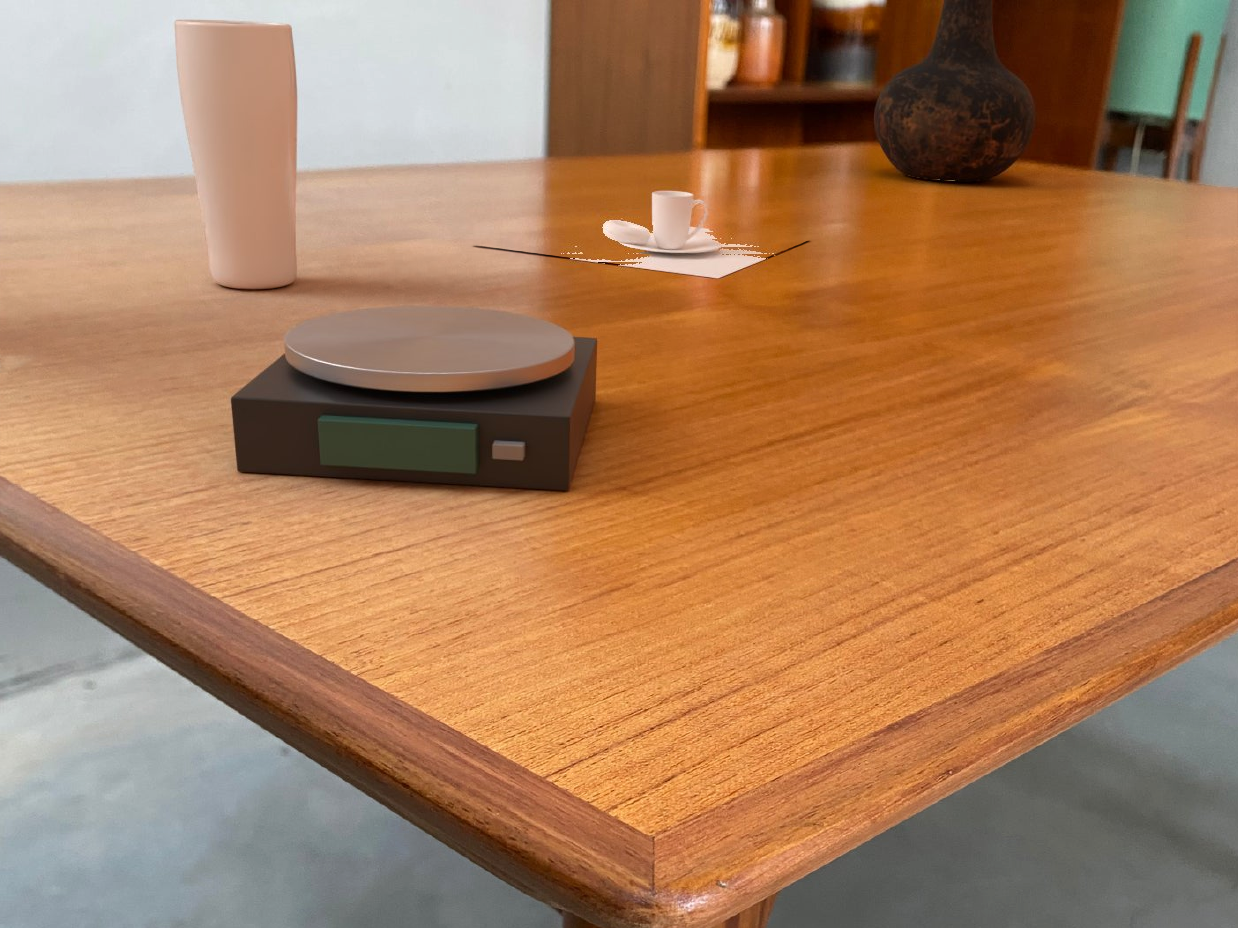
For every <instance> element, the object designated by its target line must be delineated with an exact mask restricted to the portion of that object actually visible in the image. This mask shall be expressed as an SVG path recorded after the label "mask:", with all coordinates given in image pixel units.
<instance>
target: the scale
mask: <svg viewBox="0 0 1238 928" xmlns="http://www.w3.org/2000/svg"><path fill="white" fill-rule="evenodd" d="M573 339H574V341H575V349H574V361H573V363H572V364H571V366H570V367H569V368H568V369H566V370H565V371H564V372H562V373H560V374H558V375H556V376H553V377H551V378H548V379H545V380H542V381H538V382H535V383H531V384H526V385H521V386H516V387H510V388H504V389H496V390H487V391H475V392H457V393H412V392H394V391H381V390H373V389H364V388H358V387H352V386H346V385H341V384H336V383H332V382H328V381H324V380H321V379H317V378H314V377H312V376H309V375H306V374H304V373H302V372H300V371H298V370H296V369H295V368H293V367H292V366H291V365H290V364H289V363H288V361H287V360H286V357H285V352H284V353H283V354H282V355H281V356H279V357H278V358H277V359H276V360H275V361H274V362H272V363H271V364H270V365H268V366H267V367H266V368H265V369H263V370H262V371H261V372H260V373H259V374H257V375H256V376H255V377H254V378H253V379H252V380H250V381H249V382H248V383H246V384H245V385H244V386H243V387H241V388H240V389H239V390H238V391H237V392H236V393H234V394H233V395H232V396H231V397H230V405H231V417H232V429H233V439H234V440H233V441H234V449H235V459H236V460H235V461H236V470H237V472H239V473H252V474H253V473H254V474H255V473H256V474H271V475H272V474H273V475H286V476H287V475H288V476H289V475H290V476H305V477H306V476H308V477H323V478H324V477H325V478H343V479H359V480H375V481H389V482H391V481H392V482H408V483H409V482H410V483H425V484H441V485H442V484H444V485H461V486H475V487H492V488H493V487H494V488H495V487H496V488H511V489H529V490H542V491H543V490H545V491H561V492H568V491H569V489H570V487H571V484H572V479H573V477H574V473H575V470H576V466H577V463H578V460H579V456H580V453H581V449H582V446H583V442H584V440H585V436H586V432H587V429H588V426H589V424H590V419H591V415H592V412H593V409H594V406H595V402H596V399H597V398H596V396H597V367H598V366H597V365H598V338H596V337H587V336H586V337H584V336H583V337H582V336H573Z"/></svg>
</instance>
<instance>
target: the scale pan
mask: <svg viewBox="0 0 1238 928" xmlns="http://www.w3.org/2000/svg"><path fill="white" fill-rule="evenodd" d="M573 337H574V336H573V335H572V334H571V333H570V331H568V330H567V329H565V328H564V327H561V326H560V325H558V324H555V323H553V322H550V321H547V320H544V319H542V318H538V317H533V316H531V315H525V314H522V313H521V314H520V313H516V312H511V311H510V312H509V311H504V310H497V309H491V308H490V309H489V308H480V307H479V308H478V307H468V306H467V307H466V306H451V305H398V306H397V305H396V306H395V305H394V306H378V307H368V308H359V309H351V310H350V309H349V310H344V311H338V312H333V313H328V314H325V315H320V316H316V317H313V318H310V319H307V320H304V321H302V322H300V323H297V324H296V325H294V326H293V327H291V328H290V329H288V330H287V332H286V333H285V335H284V337H283V345H284V353H285V357H286V360H287V361H288V363H289V364H290V365H291V366H292V367H293V368H295V369H296V370H298V371H300V372H302V373H304V374H306V375H309V376H312V377H314V378H317V379H321V380H324V381H328V382H332V383H336V384H341V385H346V386H352V387H358V388H364V389H373V390H381V391H394V392H412V393H457V392H475V391H487V390H496V389H504V388H510V387H516V386H521V385H526V384H531V383H535V382H538V381H542V380H545V379H548V378H551V377H553V376H556V375H558V374H560V373H562V372H564V371H565V370H566V369H568V368H569V367H570V366H571V364H572V363H573V361H574V349H575V341H574V339H573Z"/></svg>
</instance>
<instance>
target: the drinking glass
mask: <svg viewBox="0 0 1238 928" xmlns="http://www.w3.org/2000/svg"><path fill="white" fill-rule="evenodd" d="M173 24H174V25H173V26H174V39H175V41H174V42H175V57H176V69H177V79H178V88H179V95H180V101H181V108H182V115H183V120H184V125H185V130H186V136H187V141H188V147H189V152H190V158H191V163H192V169H193V175H194V180H195V186H196V192H197V197H198V202H199V208H200V214H201V220H202V225H203V232H204V237H205V244H206V250H207V252H206V253H207V262H208V270H209V276H210V277H211V279H212V281H213V282H214V283H216V284H218V285H220V286H222V287H225V288H231V289H239V290H268V289H276V288H281V287H286V286H288V285H290V284H292V283H294V281H295V280H296V278H297V277H298V276H297V275H298V261H297V246H296V245H297V234H296V233H297V231H296V230H297V165H298V161H297V160H298V159H297V158H298V109H299V108H298V82H297V78H298V77H297V65H296V54H295V45H294V37H293V27H292V25H291V24H290V23H282V22H281V23H280V22H268V21H267V22H266V21H252V20H251V21H247V20H225V19H220V20H219V19H176V20H175V21H174V22H173Z"/></svg>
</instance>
